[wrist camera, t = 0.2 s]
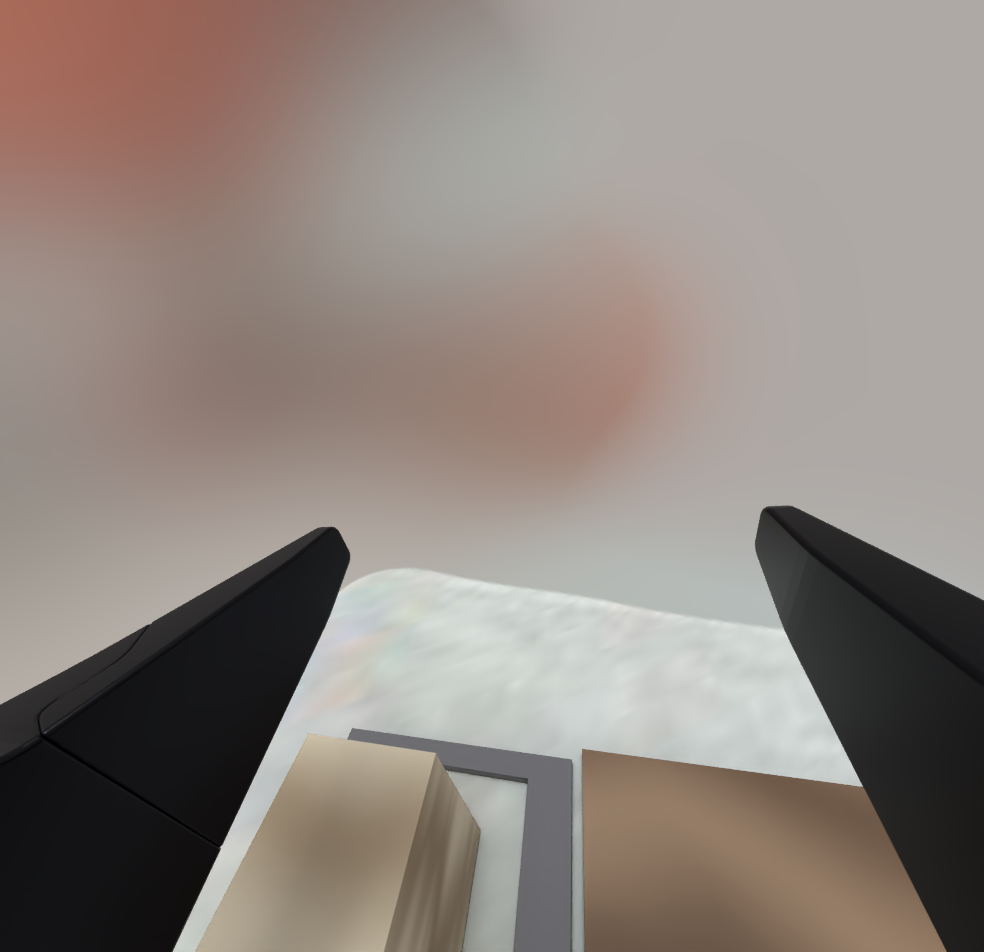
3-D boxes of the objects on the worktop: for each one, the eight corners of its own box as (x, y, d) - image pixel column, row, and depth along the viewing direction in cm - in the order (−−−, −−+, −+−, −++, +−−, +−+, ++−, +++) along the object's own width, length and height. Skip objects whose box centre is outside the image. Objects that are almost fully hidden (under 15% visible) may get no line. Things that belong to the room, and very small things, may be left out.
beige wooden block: (450, 1026, 13) (367, 1012, 8) (323, 982, 14) (195, 950, 10) (480, 830, 17) (435, 753, 12) (380, 810, 18) (308, 733, 14)
